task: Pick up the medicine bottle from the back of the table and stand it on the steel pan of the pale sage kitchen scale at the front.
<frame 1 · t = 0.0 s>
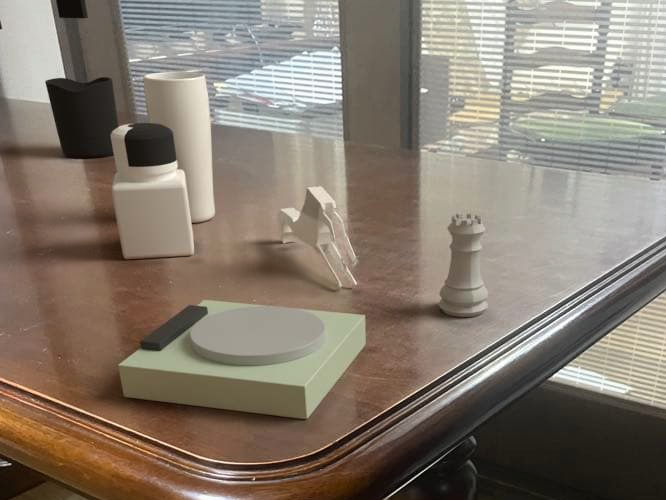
hand: (32, 23, 81), 21 cm above the table, tool pointing down, fingers open, 13 cm apart
medicine bottle: (160, 250, 93), on the table
drinking glass: (193, 220, 103), on the table
scale: (252, 369, 67), on the table
rook chess piece: (463, 311, 78), on the table
pen holder: (92, 154, 135), on the table
white angular pronged piece: (316, 266, 89), on the table
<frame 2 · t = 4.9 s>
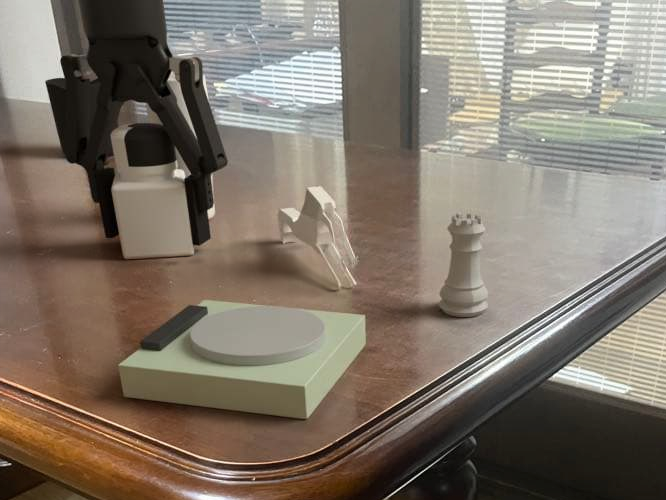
hand: (158, 238, 93), 1 cm above the table, tool pointing down, fingers closed on medicine bottle, 9 cm apart
medicine bottle: (160, 250, 93), on the table, touching gripper
everything else where it was.
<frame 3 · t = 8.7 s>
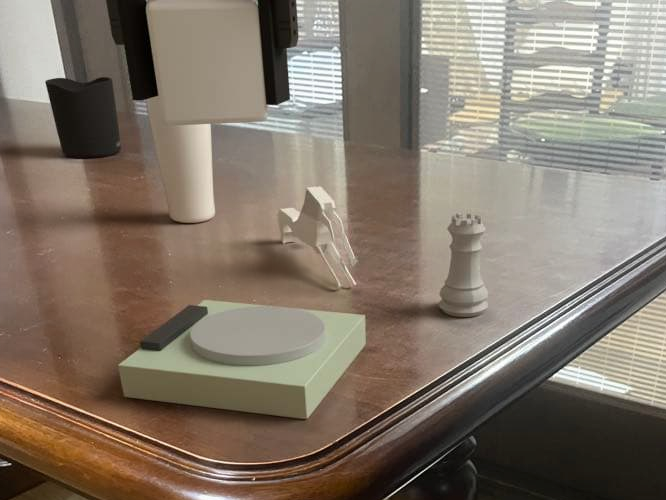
hand: (211, 99, 62), 18 cm above the table, tool pointing down, fingers closed on medicine bottle, 9 cm apart
medicine bottle: (214, 119, 63), point 17 cm above the table, touching gripper
everything else where it was.
when the fingers open (4 cm above the table, at t = 12.8 s): medicine bottle stays where it is, resting on scale.
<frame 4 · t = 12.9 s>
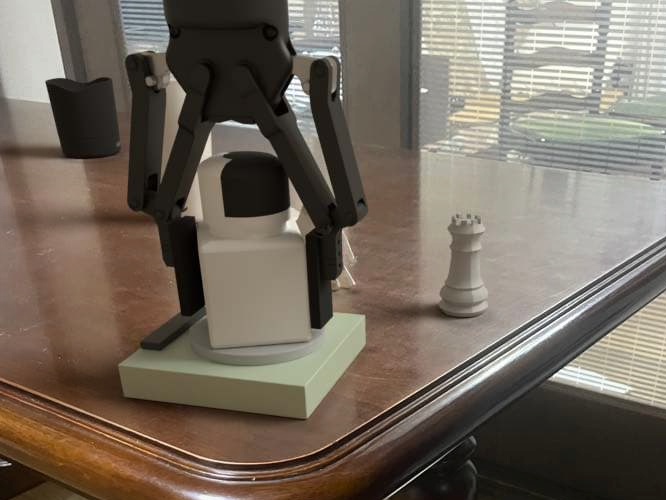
hand: (257, 316, 64), 4 cm above the table, tool pointing down, fingers open, 9 cm apart
medicine bottle: (258, 331, 65), point 3 cm above the table, touching scale
everything else where it was.
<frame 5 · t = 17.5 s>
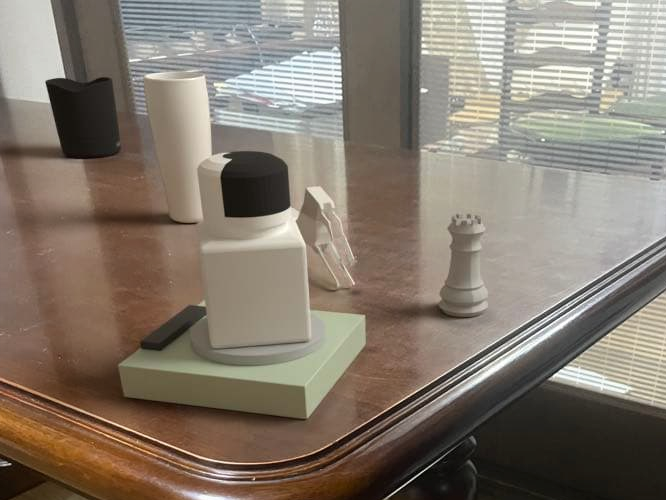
nothing on the table moved.
at the end: medicine bottle inside the target area on the scale (0.1 cm from its centre), point 3.1 cm above the scale's base; medicine bottle tilted 0°; the gripper is holding nothing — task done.
